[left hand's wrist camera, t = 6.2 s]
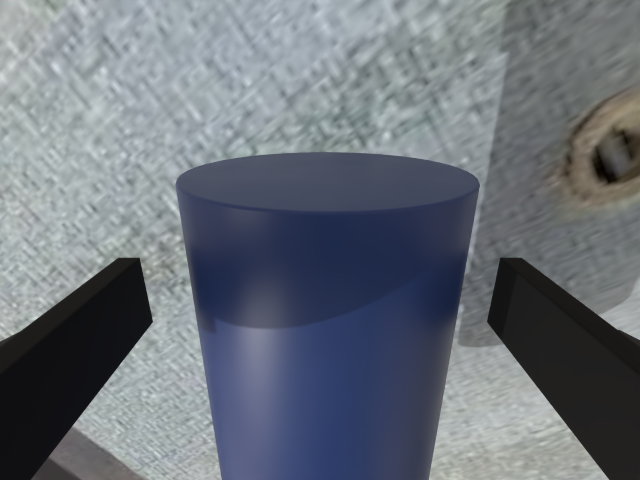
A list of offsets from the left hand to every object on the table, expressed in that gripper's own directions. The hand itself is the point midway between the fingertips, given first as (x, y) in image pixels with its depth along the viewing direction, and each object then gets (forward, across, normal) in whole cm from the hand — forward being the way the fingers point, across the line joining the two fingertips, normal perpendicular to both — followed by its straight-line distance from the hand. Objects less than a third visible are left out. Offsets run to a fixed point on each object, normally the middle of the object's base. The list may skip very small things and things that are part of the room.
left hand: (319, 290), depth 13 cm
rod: (+4, 0, -9) cm, 10 cm away
